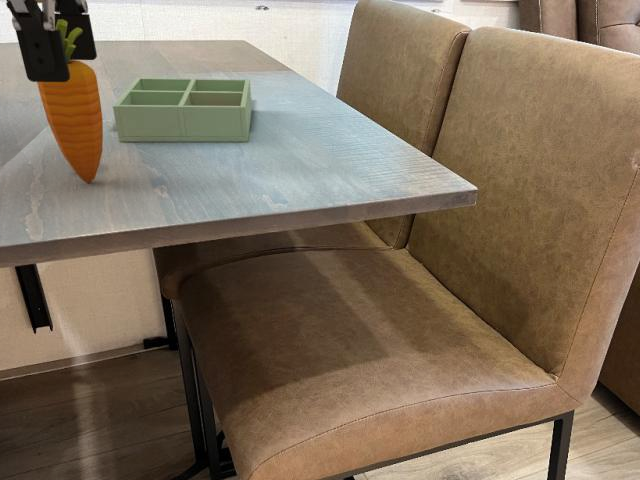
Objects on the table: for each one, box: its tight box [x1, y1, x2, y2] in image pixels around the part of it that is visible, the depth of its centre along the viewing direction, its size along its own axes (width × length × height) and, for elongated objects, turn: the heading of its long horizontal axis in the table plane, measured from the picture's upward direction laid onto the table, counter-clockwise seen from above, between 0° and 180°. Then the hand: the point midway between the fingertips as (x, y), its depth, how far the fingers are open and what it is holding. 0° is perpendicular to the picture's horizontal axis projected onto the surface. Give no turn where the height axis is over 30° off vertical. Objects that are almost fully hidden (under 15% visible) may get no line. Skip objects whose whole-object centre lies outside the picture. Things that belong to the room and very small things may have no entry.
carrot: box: [36, 19, 104, 184], centre depth 59 cm, size 5×5×15 cm
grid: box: [112, 77, 253, 143], centre depth 80 cm, size 15×15×4 cm
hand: (65, 69), depth 57 cm, fingers open, 8 cm apart
